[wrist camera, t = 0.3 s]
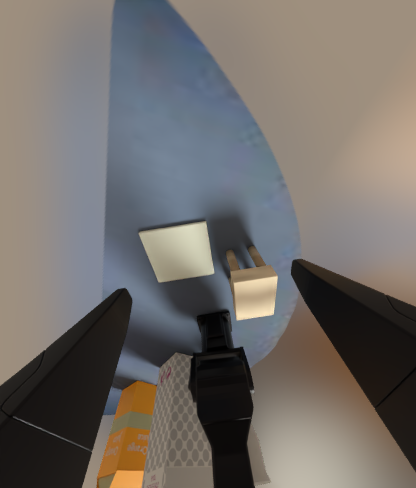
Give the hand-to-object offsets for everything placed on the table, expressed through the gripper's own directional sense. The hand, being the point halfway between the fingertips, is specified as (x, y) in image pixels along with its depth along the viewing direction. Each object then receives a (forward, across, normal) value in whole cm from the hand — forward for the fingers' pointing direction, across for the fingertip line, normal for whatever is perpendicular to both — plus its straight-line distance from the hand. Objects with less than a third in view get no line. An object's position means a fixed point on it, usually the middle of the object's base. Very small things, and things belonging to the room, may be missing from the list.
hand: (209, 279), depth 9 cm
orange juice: (+15, +26, +50) cm, 59 cm away
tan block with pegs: (+14, -5, +11) cm, 18 cm away
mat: (+14, +4, +7) cm, 16 cm away
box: (+15, +12, +40) cm, 44 cm away
